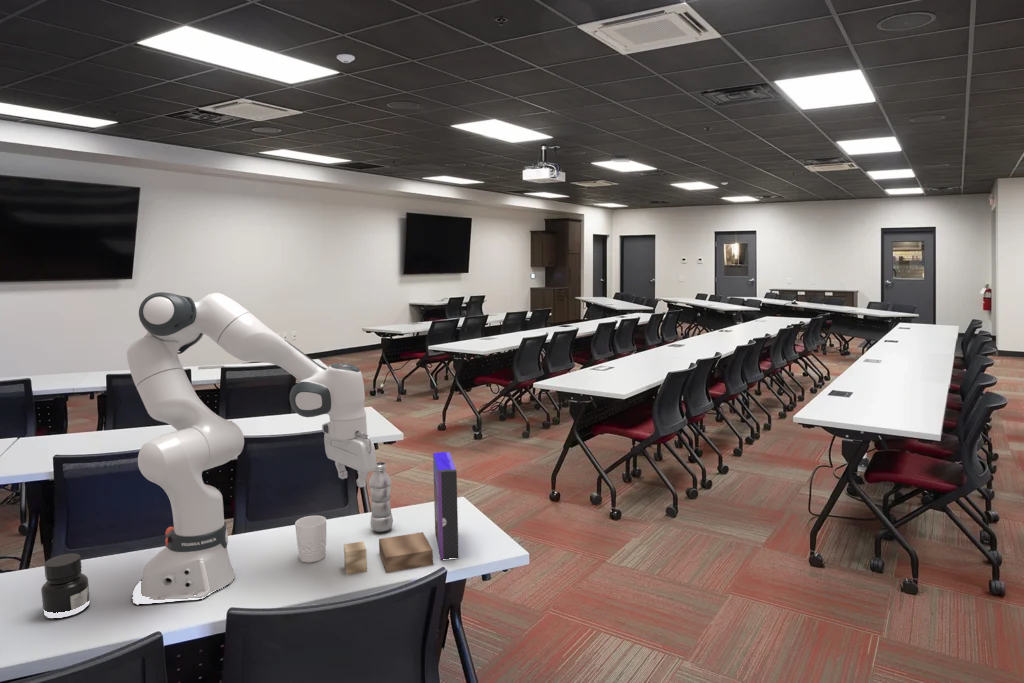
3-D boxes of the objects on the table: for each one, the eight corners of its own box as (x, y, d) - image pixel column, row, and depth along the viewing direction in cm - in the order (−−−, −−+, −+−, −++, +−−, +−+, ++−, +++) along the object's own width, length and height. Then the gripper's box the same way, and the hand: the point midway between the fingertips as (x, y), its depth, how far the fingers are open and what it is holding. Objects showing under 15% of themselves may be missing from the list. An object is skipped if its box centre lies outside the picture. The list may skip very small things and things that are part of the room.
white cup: (322, 548, 182) (321, 513, 180) (332, 558, 175) (330, 522, 174) (293, 555, 177) (291, 519, 176) (301, 566, 171) (299, 529, 170)
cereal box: (435, 533, 190) (432, 452, 187) (451, 532, 191) (449, 451, 188) (440, 560, 173) (438, 471, 170) (458, 558, 174) (456, 470, 171)
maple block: (346, 575, 166) (345, 552, 165) (344, 566, 171) (343, 544, 170) (367, 571, 168) (366, 549, 167) (364, 563, 172) (363, 541, 172)
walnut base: (386, 572, 167) (385, 557, 166) (379, 553, 178) (378, 538, 178) (433, 564, 171) (432, 550, 170) (423, 546, 182) (422, 532, 182)
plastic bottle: (396, 525, 196) (393, 460, 194) (389, 535, 189) (387, 467, 187) (374, 525, 197) (372, 460, 194) (367, 534, 190) (364, 467, 188)
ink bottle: (86, 616, 148) (81, 565, 147) (38, 625, 145) (33, 573, 143) (94, 596, 157) (89, 547, 155) (49, 604, 153) (44, 554, 152)
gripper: (381, 432, 159) (384, 488, 161) (341, 420, 175) (344, 470, 176) (357, 438, 155) (361, 495, 157) (318, 424, 170) (322, 476, 172)
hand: (352, 482), depth 167 cm, fingers open, 8 cm apart
